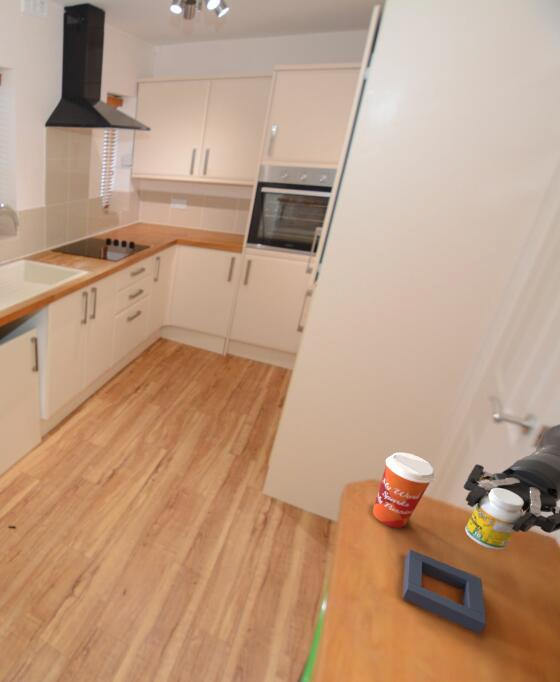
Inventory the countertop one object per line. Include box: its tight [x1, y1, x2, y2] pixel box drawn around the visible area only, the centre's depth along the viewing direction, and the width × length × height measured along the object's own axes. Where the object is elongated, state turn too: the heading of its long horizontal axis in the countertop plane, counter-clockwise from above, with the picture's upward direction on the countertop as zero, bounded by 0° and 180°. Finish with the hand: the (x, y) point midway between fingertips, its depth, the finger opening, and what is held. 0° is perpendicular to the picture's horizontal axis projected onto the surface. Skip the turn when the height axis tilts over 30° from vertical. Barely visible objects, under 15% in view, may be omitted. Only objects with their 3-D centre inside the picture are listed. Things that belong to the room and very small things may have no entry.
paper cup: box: [372, 451, 437, 529], centre depth 90 cm, size 8×8×14 cm
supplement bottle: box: [464, 488, 524, 551], centre depth 77 cm, size 5×5×10 cm
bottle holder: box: [402, 549, 487, 635], centre depth 78 cm, size 10×10×2 cm
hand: (493, 513), depth 75 cm, fingers closed on supplement bottle, 5 cm apart
